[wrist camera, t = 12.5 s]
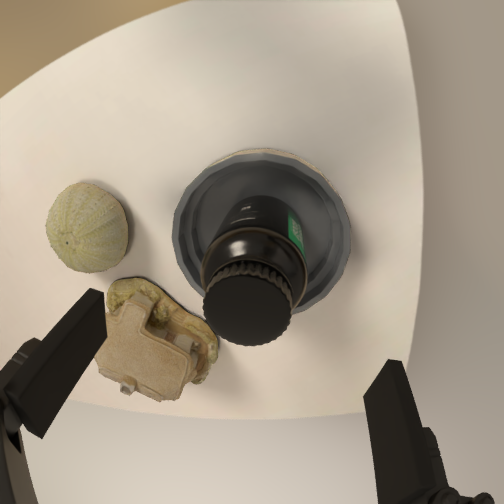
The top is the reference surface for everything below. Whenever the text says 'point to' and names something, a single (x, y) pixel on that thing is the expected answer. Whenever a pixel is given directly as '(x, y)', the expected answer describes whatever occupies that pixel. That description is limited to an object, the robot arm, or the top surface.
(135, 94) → the top surface
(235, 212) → the supplement bottle
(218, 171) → the dish
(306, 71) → the top surface
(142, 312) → the ceramic model
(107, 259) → the sea urchin shell
